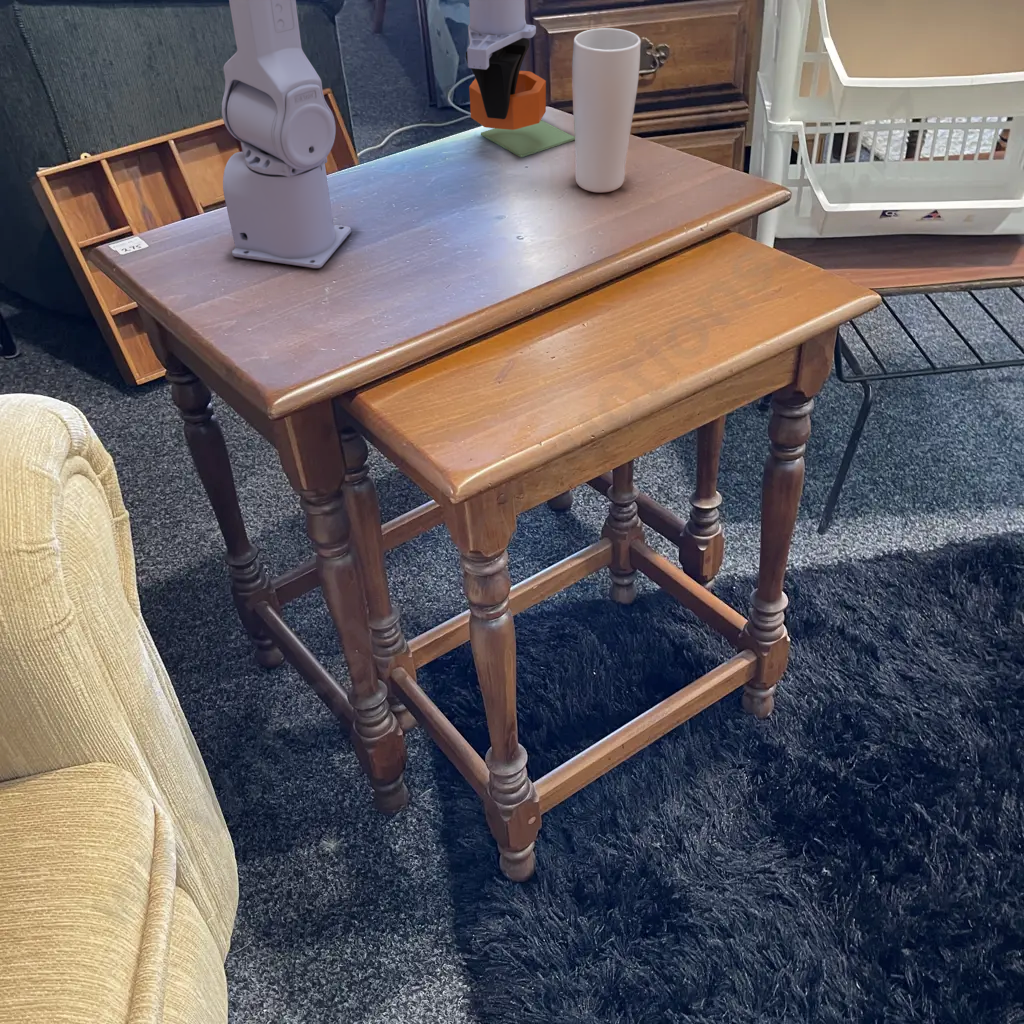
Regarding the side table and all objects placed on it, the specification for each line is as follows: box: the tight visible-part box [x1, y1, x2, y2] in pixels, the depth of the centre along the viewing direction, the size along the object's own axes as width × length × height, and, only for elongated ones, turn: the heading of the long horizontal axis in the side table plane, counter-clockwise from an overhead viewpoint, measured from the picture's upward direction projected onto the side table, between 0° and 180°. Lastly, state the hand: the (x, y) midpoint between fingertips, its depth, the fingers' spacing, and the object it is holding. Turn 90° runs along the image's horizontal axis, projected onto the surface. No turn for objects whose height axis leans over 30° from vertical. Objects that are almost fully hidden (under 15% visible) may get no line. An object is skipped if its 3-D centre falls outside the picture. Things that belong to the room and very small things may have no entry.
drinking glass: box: [571, 27, 642, 194], centre depth 102 cm, size 7×7×15 cm
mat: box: [480, 119, 575, 158], centre depth 116 cm, size 8×8×1 cm
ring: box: [468, 70, 547, 130], centre depth 111 cm, size 8×8×4 cm
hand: (499, 114), depth 109 cm, fingers closed on ring
